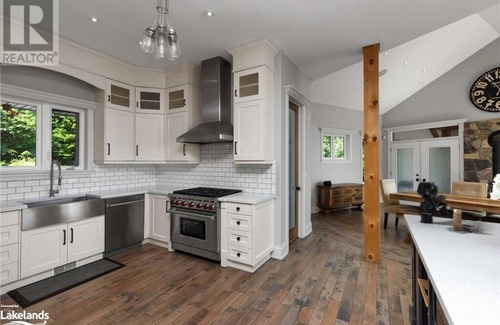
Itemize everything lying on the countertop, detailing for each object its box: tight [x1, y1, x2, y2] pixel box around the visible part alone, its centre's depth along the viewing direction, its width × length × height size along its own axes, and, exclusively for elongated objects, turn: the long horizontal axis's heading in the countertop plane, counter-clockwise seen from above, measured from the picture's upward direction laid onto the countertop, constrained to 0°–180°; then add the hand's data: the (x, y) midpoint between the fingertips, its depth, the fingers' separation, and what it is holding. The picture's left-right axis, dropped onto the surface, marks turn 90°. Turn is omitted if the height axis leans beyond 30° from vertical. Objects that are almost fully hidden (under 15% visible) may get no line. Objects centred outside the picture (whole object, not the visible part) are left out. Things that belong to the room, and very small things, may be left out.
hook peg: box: [452, 208, 463, 232], centre depth 148 cm, size 4×4×14 cm
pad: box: [447, 228, 469, 235], centre depth 148 cm, size 8×7×1 cm
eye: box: [462, 223, 480, 234], centre depth 150 cm, size 8×8×3 cm
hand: (445, 215), depth 155 cm, fingers open, 9 cm apart
